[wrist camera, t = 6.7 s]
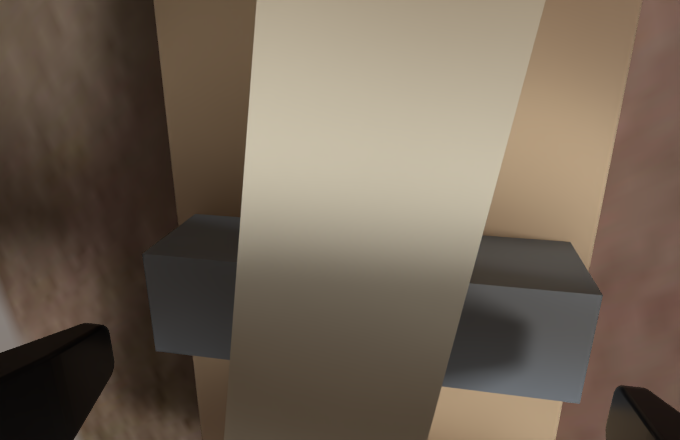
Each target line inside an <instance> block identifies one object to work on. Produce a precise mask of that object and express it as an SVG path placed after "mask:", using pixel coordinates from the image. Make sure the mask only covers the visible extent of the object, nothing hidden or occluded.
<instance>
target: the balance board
mask: <svg viewBox="0 0 680 440" xmlns="http://www.w3.org/2000/svg"><path fill="white" fill-rule="evenodd" d="M256 3H257V0H154V10H155V19H156V28H157V37H158V46H159V55H160V64H161V73H162V82H163V91H164V100H165V109H166V118H167V127H168V136H169V145H170V155H171V164H172V173H173V182H174V191H175V200H176V209H177V218H178V227H177V228H176V229H175V230H173V231H172V232H171V233H169V234H168V235H167V236H165V237H164V238H163V239H161V240H160V241H159V242H157V243H156V244H155V245H153V246H152V247H151V248H149V249H148V250H147V251H145V252H144V253H143V254H142V256H143V263H144V270H145V277H146V284H147V292H148V299H149V306H150V313H151V320H152V327H153V334H154V342H155V349H156V351H160V352H168V353H176V354H184V355H192V356H193V363H194V372H195V381H196V390H197V399H198V408H199V417H200V426H201V435H202V440H224V431H225V418H226V404H227V391H228V378H229V364H230V351H231V338H232V324H233V311H234V297H235V284H236V271H237V257H238V244H239V231H240V217H241V204H242V190H243V177H244V164H245V150H246V137H247V123H248V110H249V97H250V83H251V70H252V57H253V43H254V30H255V16H256ZM641 5H642V0H546V1H545V5H544V8H543V12H542V16H541V19H540V23H539V27H538V31H537V34H536V38H535V42H534V45H533V49H532V53H531V57H530V60H529V64H528V68H527V71H526V75H525V79H524V83H523V86H522V90H521V94H520V97H519V101H518V105H517V109H516V112H515V116H514V120H513V123H512V127H511V131H510V135H509V138H508V142H507V146H506V149H505V153H504V157H503V161H502V164H501V168H500V172H499V175H498V179H497V183H496V187H495V190H494V194H493V198H492V201H491V205H490V209H489V213H488V216H487V220H486V224H485V227H484V231H483V235H482V239H481V242H480V246H479V250H478V253H477V257H476V261H475V265H474V268H473V272H472V276H471V279H470V283H469V287H468V291H467V294H466V298H465V302H464V305H463V309H462V313H461V317H460V320H459V324H458V328H457V331H456V335H455V339H454V343H453V346H452V350H451V354H450V357H449V361H448V365H447V369H446V372H445V376H444V380H443V383H442V387H441V391H440V395H439V398H438V402H437V406H436V409H435V413H434V417H433V421H432V424H431V428H430V432H429V435H428V439H427V440H555V438H556V433H557V428H558V423H559V418H560V413H561V408H562V403H563V402H570V403H578V404H580V399H581V395H582V390H583V385H584V381H585V376H586V371H587V367H588V362H589V357H590V353H591V348H592V343H593V339H594V334H595V329H596V324H597V320H598V315H599V310H600V306H601V301H602V296H603V295H602V293H601V292H600V290H599V288H598V287H597V285H596V283H595V282H594V280H593V278H592V277H591V275H590V274H589V267H590V262H591V257H592V252H593V247H594V242H595V237H596V232H597V227H598V222H599V217H600V212H601V207H602V202H603V197H604V192H605V187H606V182H607V176H608V171H609V166H610V161H611V156H612V151H613V146H614V141H615V136H616V131H617V126H618V121H619V116H620V111H621V106H622V101H623V96H624V91H625V86H626V81H627V76H628V71H629V66H630V61H631V56H632V51H633V46H634V41H635V36H636V31H637V26H638V20H639V15H640V10H641Z"/></svg>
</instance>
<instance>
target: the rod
mask: <svg viewBox="0 0 680 440" xmlns="http://www.w3.org/2000/svg"><path fill="white" fill-rule="evenodd" d="M545 1H546V0H257V3H256V16H255V30H254V43H253V57H252V70H251V83H250V97H249V110H248V123H247V137H246V150H245V164H244V177H243V190H242V204H241V217H240V231H239V244H238V257H237V271H236V284H235V297H234V311H233V324H232V338H231V351H230V364H229V378H228V391H227V404H226V418H225V431H224V440H427V439H428V435H429V432H430V428H431V424H432V421H433V417H434V413H435V409H436V406H437V402H438V398H439V395H440V391H441V387H442V383H443V380H444V376H445V372H446V369H447V365H448V361H449V357H450V354H451V350H452V346H453V343H454V339H455V335H456V331H457V328H458V324H459V320H460V317H461V313H462V309H463V305H464V302H465V298H466V294H467V291H468V287H469V283H470V279H471V276H472V272H473V268H474V265H475V261H476V257H477V253H478V250H479V246H480V242H481V239H482V235H483V231H484V227H485V224H486V220H487V216H488V213H489V209H490V205H491V201H492V198H493V194H494V190H495V187H496V183H497V179H498V175H499V172H500V168H501V164H502V161H503V157H504V153H505V149H506V146H507V142H508V138H509V135H510V131H511V127H512V123H513V120H514V116H515V112H516V109H517V105H518V101H519V97H520V94H521V90H522V86H523V83H524V79H525V75H526V71H527V68H528V64H529V60H530V57H531V53H532V49H533V45H534V42H535V38H536V34H537V31H538V27H539V23H540V19H541V16H542V12H543V8H544V5H545Z"/></svg>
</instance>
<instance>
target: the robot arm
mask: <svg viewBox="0 0 680 440" xmlns="http://www.w3.org/2000/svg"><path fill="white" fill-rule="evenodd" d="M113 369H114V356H113V350H112V345H111V339H110V333H109V330H108V328H107V327H106V326H104V325H100V324H92V323H83V324H80V325H77V326H74V327H71V328H69V329H66V330H63V331H60V332H57V333H55V334H52V335H49V336H46V337H43V338H41V339H38V340H35V341H32V342H30V343H27V344H24V345H21V346H18V347H16V348H13V349H10V350H7V351H5V352H2V353H0V440H74V438H75V436H76V435H77V433H78V432H79V430H80V428H81V426H82V425H83V423H84V421H85V420H86V418H87V416H88V414H89V413H90V411H91V409H92V408H93V406H94V404H95V403H96V401H97V399H98V397H99V396H100V394H101V392H102V391H103V389H104V387H105V385H106V384H107V382H108V380H109V379H110V377H111V375H112V372H113ZM606 440H680V412H678V411H677V410H675V409H674V408H673V407H671V406H670V405H669V404H667V403H666V402H664V401H663V400H662V399H660V398H659V397H658V396H656V395H655V394H653V393H652V392H651V391H649V390H648V389H646V388H641V387H632V386H624V385H620V386H618V387H617V388H616V390H615V391H614V395H613V399H612V403H611V407H610V411H609V416H608V420H607V424H606Z"/></svg>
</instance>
